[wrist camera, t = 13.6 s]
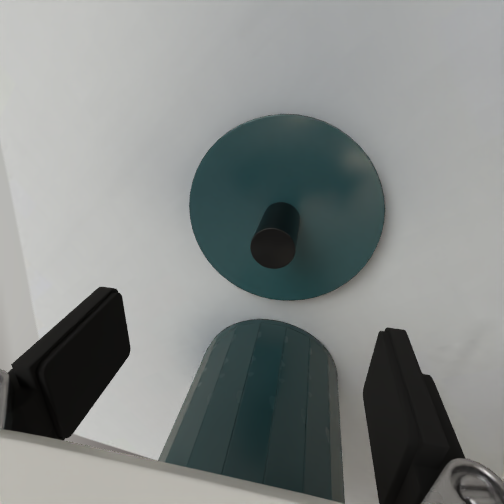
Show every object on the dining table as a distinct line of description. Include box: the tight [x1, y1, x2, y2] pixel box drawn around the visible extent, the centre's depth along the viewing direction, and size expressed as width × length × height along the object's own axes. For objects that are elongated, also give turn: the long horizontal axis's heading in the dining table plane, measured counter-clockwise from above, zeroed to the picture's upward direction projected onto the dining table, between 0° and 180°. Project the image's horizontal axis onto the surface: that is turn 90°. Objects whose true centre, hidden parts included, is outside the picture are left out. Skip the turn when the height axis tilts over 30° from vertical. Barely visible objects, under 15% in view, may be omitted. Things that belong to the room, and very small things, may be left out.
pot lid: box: [189, 114, 385, 300], centre depth 19 cm, size 13×13×6 cm
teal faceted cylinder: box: [158, 319, 345, 504], centre depth 22 cm, size 12×12×14 cm
